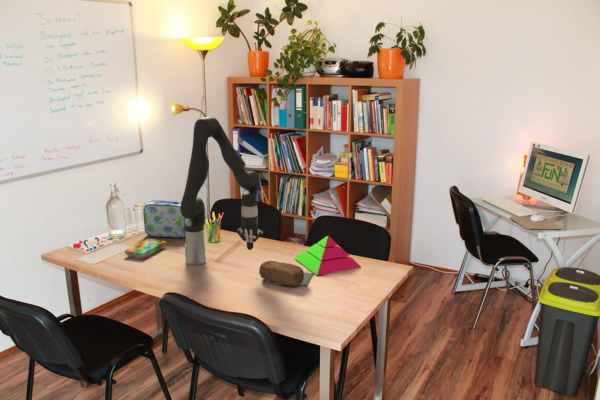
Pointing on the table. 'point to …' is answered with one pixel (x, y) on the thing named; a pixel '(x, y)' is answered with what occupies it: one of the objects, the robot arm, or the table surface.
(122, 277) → the table surface
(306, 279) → the mat
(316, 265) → the pyramid toy
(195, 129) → the robot arm
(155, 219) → the lunch box
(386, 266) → the table surface
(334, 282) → the table surface
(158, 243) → the puzzle game
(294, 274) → the brown rounded elongated part
